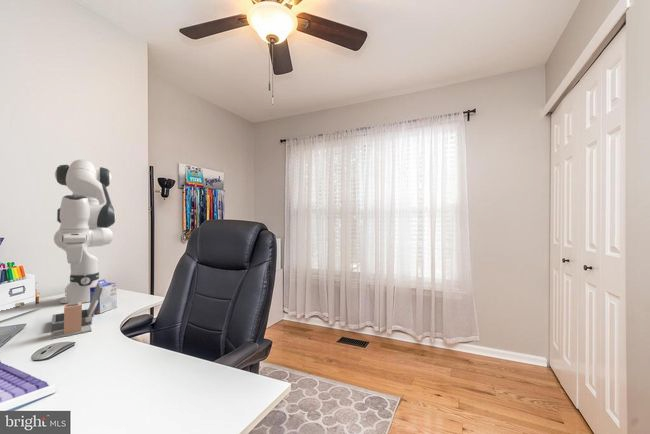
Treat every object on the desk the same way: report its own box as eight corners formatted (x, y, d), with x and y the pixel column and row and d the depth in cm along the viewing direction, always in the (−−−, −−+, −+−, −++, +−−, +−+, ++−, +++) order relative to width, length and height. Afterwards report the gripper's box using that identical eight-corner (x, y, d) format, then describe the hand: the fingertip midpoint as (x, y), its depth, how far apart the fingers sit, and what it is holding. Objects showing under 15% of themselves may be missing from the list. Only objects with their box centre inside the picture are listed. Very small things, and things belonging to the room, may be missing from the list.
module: (63, 330, 110) (64, 303, 110) (80, 327, 113) (81, 300, 113) (63, 334, 106) (64, 306, 106) (81, 330, 110) (81, 303, 110)
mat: (53, 332, 109) (53, 331, 109) (90, 325, 116) (90, 324, 116) (52, 339, 103) (52, 337, 103) (91, 331, 111) (91, 330, 111)
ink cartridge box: (107, 306, 140) (107, 277, 140) (117, 307, 140) (118, 278, 140) (88, 313, 131) (89, 282, 131) (99, 314, 130) (100, 282, 130)
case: (52, 321, 120) (53, 287, 120) (99, 313, 130) (99, 281, 130) (51, 333, 108) (52, 295, 108) (102, 323, 119) (103, 288, 119)
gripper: (63, 234, 116) (62, 268, 116) (63, 238, 101) (62, 277, 101) (83, 234, 120) (83, 266, 120) (86, 238, 105) (85, 275, 105)
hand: (73, 271), depth 111 cm, fingers open, 8 cm apart
